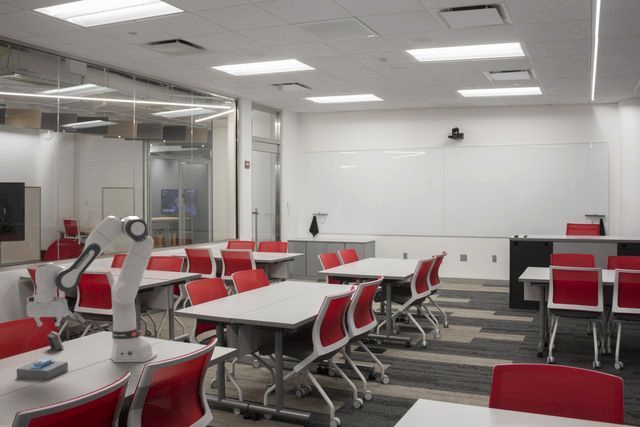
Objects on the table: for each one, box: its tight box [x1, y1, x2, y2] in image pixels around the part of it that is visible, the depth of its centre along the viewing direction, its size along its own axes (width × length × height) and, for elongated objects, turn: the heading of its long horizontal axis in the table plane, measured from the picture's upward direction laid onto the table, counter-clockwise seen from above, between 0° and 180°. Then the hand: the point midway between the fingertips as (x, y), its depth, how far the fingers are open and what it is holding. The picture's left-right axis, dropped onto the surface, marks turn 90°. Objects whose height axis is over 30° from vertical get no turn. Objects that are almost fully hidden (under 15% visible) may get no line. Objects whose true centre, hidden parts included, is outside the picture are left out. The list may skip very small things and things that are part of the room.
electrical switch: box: [46, 330, 64, 351], centre depth 313 cm, size 9×5×9 cm, turn 44°
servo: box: [31, 358, 56, 369], centre depth 269 cm, size 4×11×7 cm, turn 168°
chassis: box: [16, 360, 69, 381], centre depth 269 cm, size 16×14×4 cm
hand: (48, 326), depth 277 cm, fingers open, 8 cm apart
